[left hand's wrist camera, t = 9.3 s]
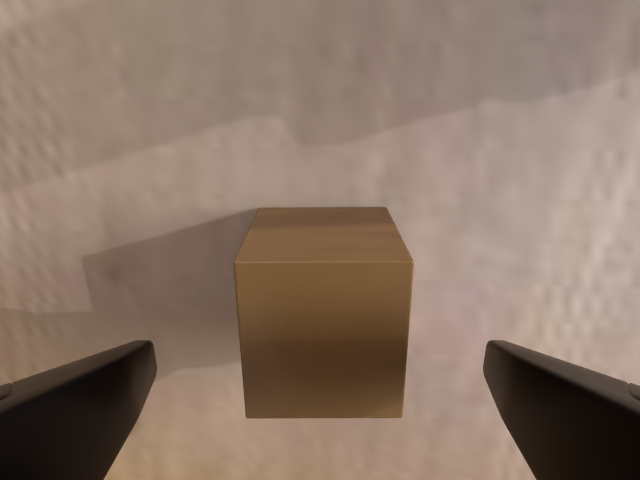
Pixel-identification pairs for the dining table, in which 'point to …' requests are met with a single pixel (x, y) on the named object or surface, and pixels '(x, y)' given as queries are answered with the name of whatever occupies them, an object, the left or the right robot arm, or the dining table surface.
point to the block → (323, 313)
